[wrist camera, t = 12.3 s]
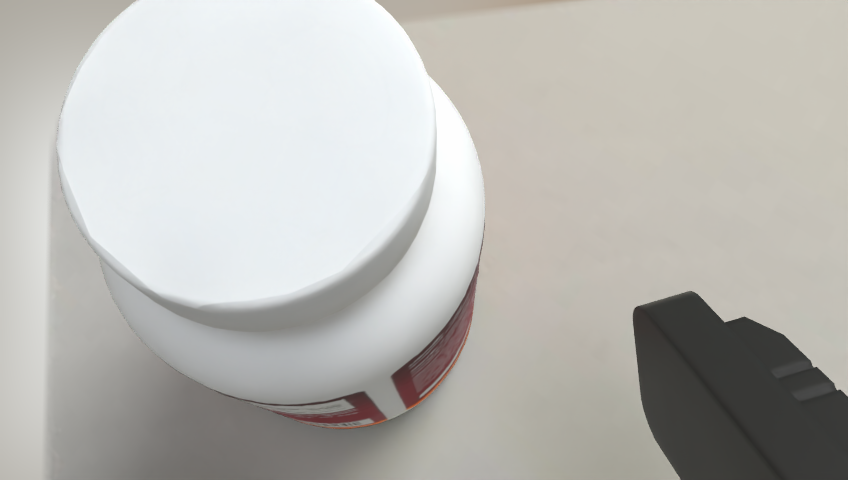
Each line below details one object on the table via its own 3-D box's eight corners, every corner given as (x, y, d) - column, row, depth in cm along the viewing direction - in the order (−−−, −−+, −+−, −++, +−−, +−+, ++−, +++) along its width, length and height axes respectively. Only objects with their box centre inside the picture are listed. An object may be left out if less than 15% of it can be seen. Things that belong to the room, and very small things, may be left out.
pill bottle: (399, 149, 22) (361, -167, 11) (517, 353, 20) (606, 214, 9) (185, 259, 21) (-77, 32, 10) (290, 479, 19) (108, 482, 9)
